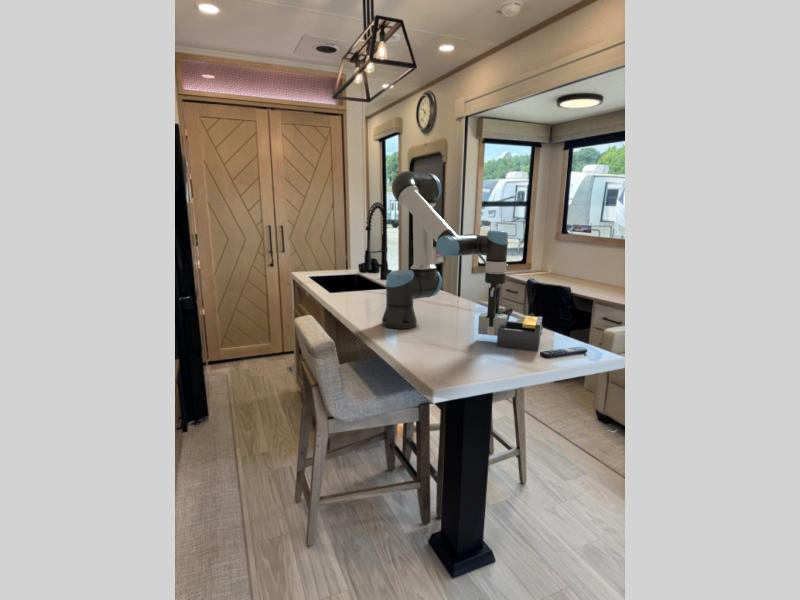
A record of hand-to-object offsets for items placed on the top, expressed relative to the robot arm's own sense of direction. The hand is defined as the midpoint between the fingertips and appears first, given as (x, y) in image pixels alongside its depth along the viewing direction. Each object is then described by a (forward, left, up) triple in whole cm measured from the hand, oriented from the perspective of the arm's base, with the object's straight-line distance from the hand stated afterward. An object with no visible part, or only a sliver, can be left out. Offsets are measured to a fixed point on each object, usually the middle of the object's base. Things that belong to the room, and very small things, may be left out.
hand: (492, 332), depth 168 cm
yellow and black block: (+12, +21, -4) cm, 24 cm away
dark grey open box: (+10, 0, -4) cm, 11 cm away
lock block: (0, 0, 0) cm, 0 cm away
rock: (-2, +33, -4) cm, 33 cm away
